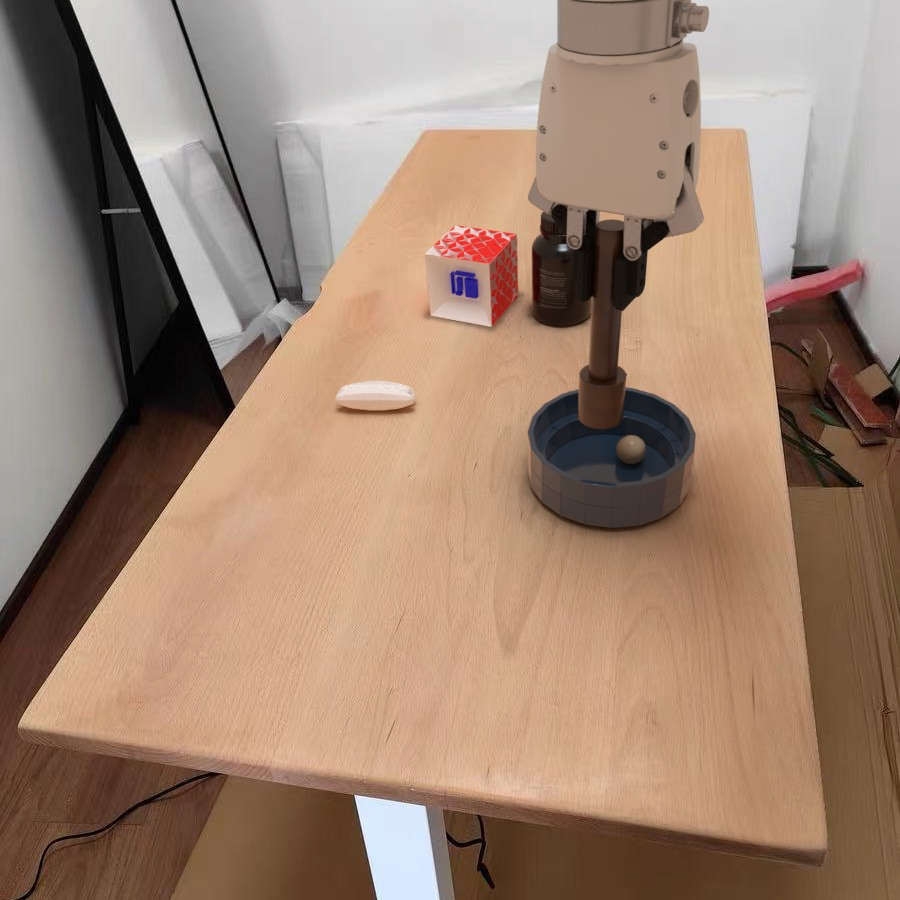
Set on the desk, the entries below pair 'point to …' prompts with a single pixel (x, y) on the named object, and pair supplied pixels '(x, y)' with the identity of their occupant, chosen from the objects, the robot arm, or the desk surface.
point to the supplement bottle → (555, 278)
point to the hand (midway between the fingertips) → (608, 296)
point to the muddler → (604, 337)
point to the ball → (631, 449)
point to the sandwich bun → (375, 396)
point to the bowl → (610, 461)
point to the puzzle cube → (472, 275)
